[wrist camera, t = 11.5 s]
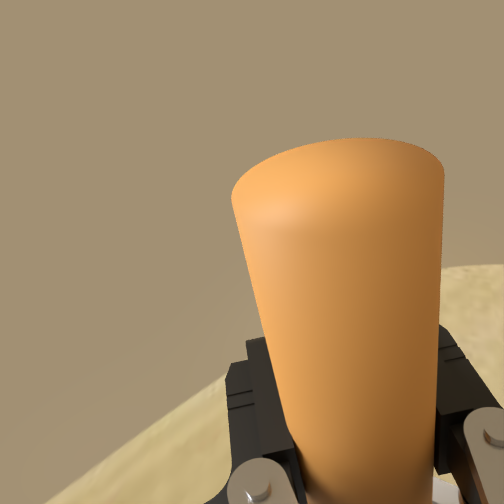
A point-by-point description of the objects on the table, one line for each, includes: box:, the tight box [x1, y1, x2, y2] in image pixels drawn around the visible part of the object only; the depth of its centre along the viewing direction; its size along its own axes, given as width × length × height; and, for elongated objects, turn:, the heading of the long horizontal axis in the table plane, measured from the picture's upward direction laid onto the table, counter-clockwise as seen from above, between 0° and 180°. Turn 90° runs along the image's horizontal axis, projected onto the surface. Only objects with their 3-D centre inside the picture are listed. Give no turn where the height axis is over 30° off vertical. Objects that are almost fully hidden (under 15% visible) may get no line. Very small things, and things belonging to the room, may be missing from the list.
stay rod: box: [231, 138, 444, 504], centre depth 11 cm, size 3×3×14 cm
